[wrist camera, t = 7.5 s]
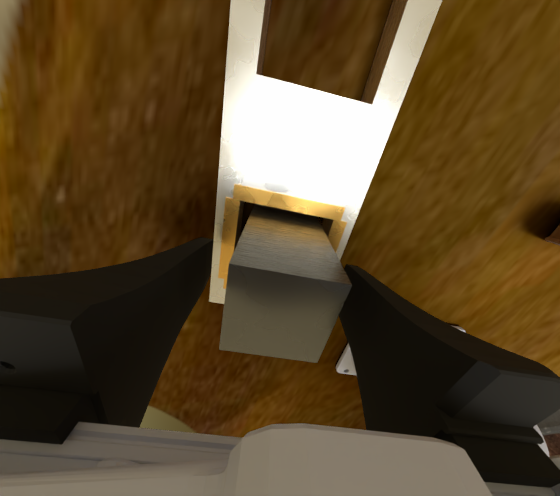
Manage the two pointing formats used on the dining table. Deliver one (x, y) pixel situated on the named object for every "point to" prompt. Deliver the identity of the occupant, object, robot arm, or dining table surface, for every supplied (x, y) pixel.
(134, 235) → the dining table surface
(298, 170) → the white rectangular board
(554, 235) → the tin
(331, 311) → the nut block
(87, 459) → the robot arm
